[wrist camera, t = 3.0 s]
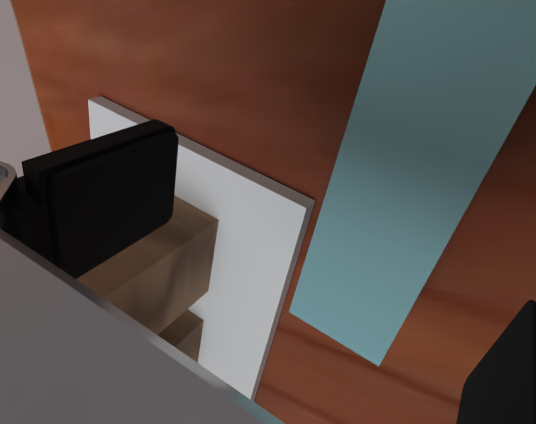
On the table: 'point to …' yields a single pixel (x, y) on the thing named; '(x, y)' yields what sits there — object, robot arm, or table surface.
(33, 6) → the table surface
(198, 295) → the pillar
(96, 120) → the board
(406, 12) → the beam
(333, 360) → the table surface
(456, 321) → the table surface
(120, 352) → the robot arm
